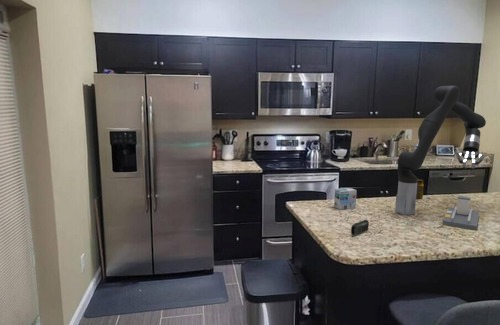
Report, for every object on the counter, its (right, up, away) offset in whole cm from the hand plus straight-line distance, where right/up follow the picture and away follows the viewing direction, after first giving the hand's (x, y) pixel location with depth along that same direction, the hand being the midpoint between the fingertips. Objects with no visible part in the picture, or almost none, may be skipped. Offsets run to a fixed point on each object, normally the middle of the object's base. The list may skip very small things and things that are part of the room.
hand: (468, 169), depth 185 cm
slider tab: (-7, -23, -6) cm, 25 cm away
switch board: (-9, -26, -9) cm, 29 cm away
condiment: (-12, -19, +32) cm, 40 cm away
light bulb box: (-63, -23, +12) cm, 68 cm away
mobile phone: (-68, -29, -28) cm, 78 cm away
